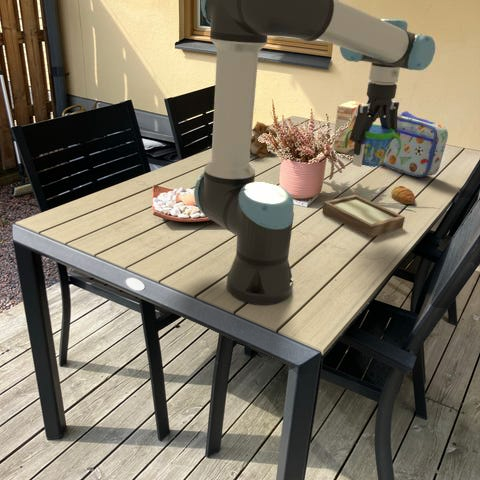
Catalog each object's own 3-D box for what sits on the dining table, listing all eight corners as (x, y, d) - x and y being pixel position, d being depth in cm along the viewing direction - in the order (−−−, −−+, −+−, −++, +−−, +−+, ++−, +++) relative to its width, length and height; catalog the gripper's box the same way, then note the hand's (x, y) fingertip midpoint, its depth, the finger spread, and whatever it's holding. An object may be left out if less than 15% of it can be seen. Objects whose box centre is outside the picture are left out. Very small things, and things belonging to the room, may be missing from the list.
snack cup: (400, 164, 144) (407, 129, 139) (391, 174, 135) (398, 137, 131) (349, 154, 150) (354, 120, 146) (337, 162, 142) (342, 127, 137)
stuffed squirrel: (240, 152, 207) (242, 121, 201) (264, 147, 216) (266, 117, 210) (257, 159, 201) (259, 126, 195) (281, 153, 210) (284, 122, 204)
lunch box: (368, 162, 205) (378, 108, 196) (385, 158, 211) (395, 106, 201) (423, 183, 186) (437, 124, 176) (440, 179, 191) (455, 121, 181)
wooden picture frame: (369, 237, 141) (372, 226, 139) (322, 212, 155) (323, 201, 154) (402, 227, 148) (404, 217, 146) (354, 204, 163) (355, 194, 161)
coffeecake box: (345, 153, 215) (353, 107, 206) (330, 150, 218) (337, 105, 209) (358, 146, 226) (365, 102, 218) (343, 143, 230) (350, 100, 221)
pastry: (419, 205, 166) (422, 194, 164) (401, 206, 164) (403, 195, 163) (405, 195, 174) (408, 184, 172) (388, 195, 172) (390, 185, 171)
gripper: (364, 87, 124) (351, 172, 134) (421, 82, 135) (405, 161, 146) (343, 82, 130) (332, 164, 140) (399, 77, 141) (385, 154, 151)
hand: (369, 162), depth 143 cm, fingers closed on snack cup, 9 cm apart
